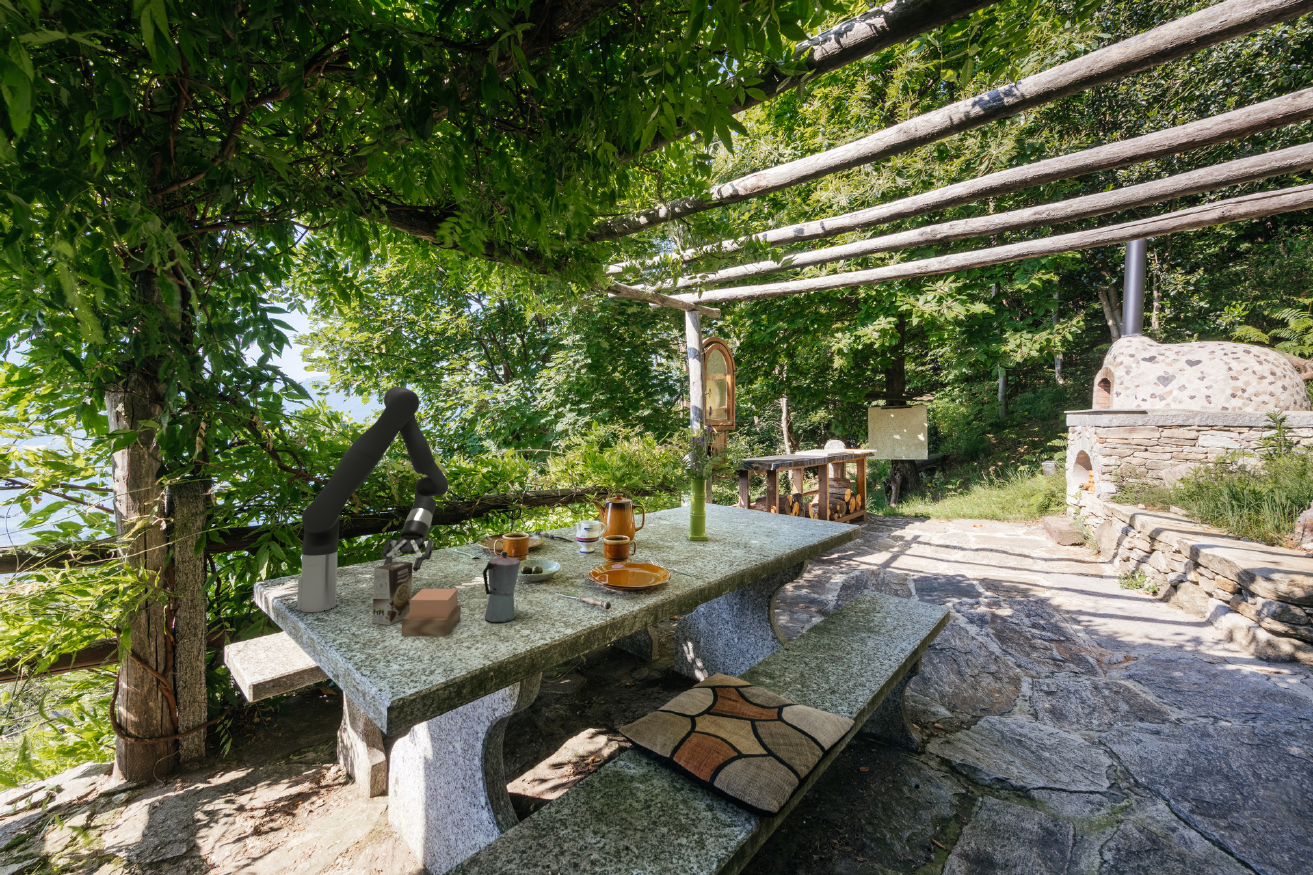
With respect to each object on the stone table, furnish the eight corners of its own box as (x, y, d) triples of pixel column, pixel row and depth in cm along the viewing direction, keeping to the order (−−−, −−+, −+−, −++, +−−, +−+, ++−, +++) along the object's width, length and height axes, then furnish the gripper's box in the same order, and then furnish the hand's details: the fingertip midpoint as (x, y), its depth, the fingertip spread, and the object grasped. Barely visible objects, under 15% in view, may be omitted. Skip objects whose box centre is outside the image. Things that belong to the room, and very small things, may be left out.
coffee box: (390, 625, 149) (392, 569, 148) (371, 623, 150) (373, 567, 150) (412, 614, 158) (413, 562, 157) (393, 612, 159) (395, 560, 159)
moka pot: (527, 612, 163) (529, 549, 163) (497, 630, 148) (499, 560, 148) (501, 608, 166) (503, 546, 166) (469, 624, 151) (472, 556, 151)
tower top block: (409, 617, 143) (409, 599, 143) (422, 605, 153) (422, 588, 153) (446, 617, 144) (447, 600, 144) (457, 605, 154) (457, 588, 154)
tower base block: (401, 636, 142) (401, 618, 142) (419, 620, 154) (419, 604, 154) (445, 637, 143) (446, 619, 143) (460, 621, 155) (460, 604, 155)
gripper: (391, 518, 167) (372, 563, 155) (436, 519, 167) (421, 564, 156) (398, 531, 172) (380, 575, 161) (442, 532, 173) (427, 576, 161)
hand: (400, 570), depth 158 cm, fingers open, 8 cm apart
